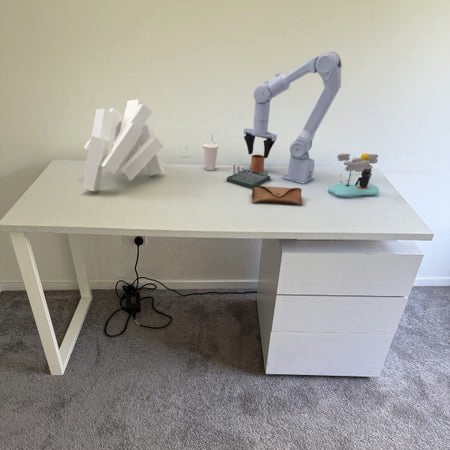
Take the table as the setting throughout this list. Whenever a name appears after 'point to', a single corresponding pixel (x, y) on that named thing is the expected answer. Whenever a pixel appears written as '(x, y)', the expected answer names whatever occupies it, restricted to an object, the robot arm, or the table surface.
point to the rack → (248, 178)
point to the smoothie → (210, 154)
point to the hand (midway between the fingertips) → (258, 155)
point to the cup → (257, 163)
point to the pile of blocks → (122, 145)
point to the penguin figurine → (363, 182)
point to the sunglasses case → (276, 195)
